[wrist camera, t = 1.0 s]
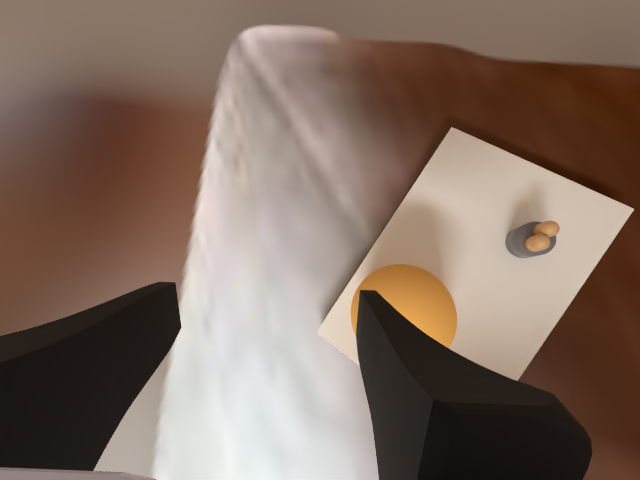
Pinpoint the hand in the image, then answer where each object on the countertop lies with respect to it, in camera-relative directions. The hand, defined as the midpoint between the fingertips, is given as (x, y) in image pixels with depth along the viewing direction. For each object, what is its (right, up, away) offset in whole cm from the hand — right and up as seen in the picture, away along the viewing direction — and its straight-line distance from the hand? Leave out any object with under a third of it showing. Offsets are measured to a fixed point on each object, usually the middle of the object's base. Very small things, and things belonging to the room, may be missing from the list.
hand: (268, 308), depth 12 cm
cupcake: (+8, -2, +9) cm, 12 cm away
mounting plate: (+12, 0, +10) cm, 15 cm away
